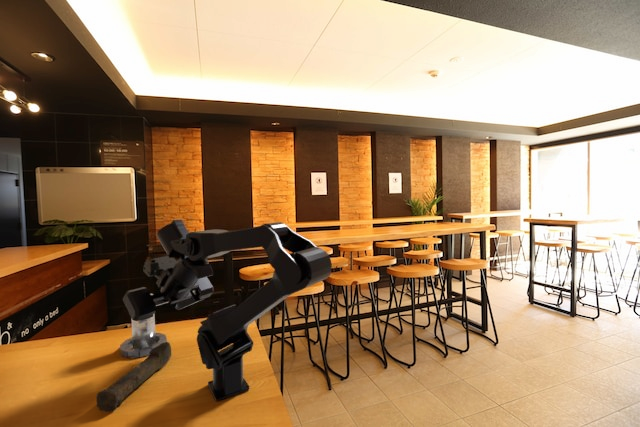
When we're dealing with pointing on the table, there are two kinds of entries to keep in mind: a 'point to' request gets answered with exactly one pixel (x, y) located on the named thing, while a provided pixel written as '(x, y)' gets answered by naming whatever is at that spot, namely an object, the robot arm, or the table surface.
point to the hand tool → (133, 378)
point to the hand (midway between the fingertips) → (159, 314)
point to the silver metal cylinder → (143, 333)
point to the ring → (140, 352)
